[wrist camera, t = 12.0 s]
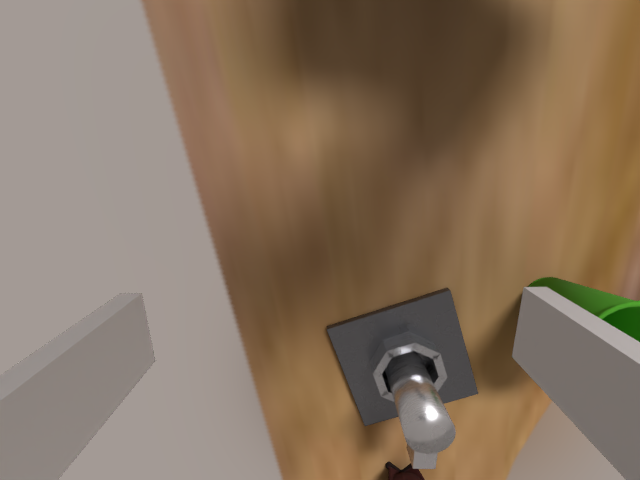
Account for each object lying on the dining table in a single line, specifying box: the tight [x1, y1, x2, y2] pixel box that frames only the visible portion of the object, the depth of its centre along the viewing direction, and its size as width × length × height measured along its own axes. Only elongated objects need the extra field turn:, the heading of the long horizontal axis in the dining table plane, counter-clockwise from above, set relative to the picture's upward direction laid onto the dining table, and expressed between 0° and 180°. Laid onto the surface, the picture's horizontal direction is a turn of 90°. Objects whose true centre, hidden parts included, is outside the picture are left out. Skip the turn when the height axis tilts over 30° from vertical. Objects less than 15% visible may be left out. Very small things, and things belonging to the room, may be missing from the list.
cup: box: [529, 277, 640, 342], centre depth 33 cm, size 9×9×11 cm
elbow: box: [385, 352, 456, 469], centre depth 36 cm, size 8×5×10 cm, turn 0°
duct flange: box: [327, 288, 478, 426], centre depth 39 cm, size 16×16×3 cm
